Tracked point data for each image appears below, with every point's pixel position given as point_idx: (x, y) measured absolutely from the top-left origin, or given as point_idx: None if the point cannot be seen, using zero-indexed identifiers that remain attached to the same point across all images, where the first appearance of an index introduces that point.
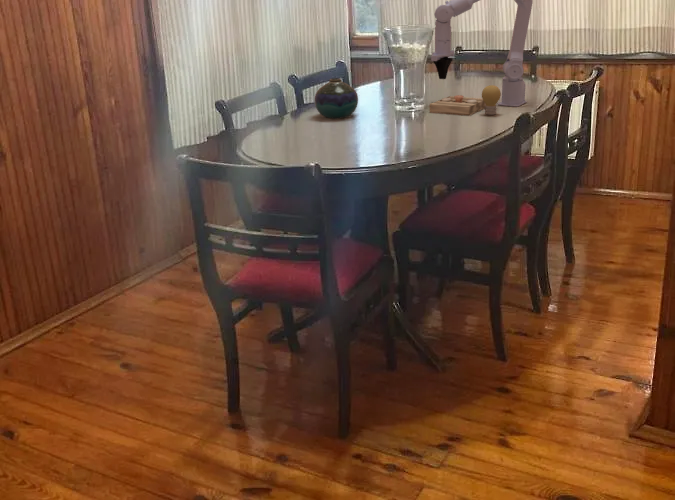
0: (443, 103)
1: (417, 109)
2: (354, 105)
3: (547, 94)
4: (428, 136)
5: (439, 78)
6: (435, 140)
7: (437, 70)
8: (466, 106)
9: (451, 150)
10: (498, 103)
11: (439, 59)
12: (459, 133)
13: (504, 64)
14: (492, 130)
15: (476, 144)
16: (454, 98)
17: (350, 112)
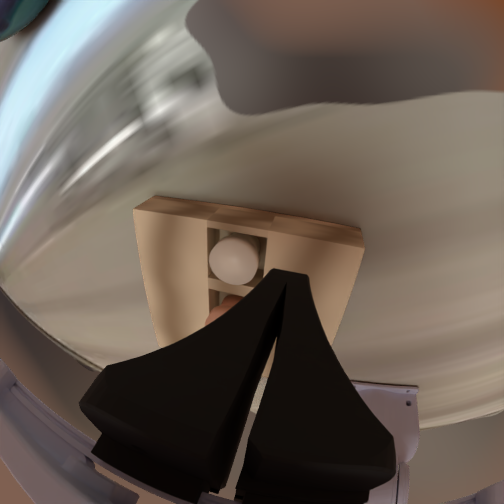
0: (166, 263)
1: (190, 113)
2: (5, 37)
3: (474, 416)
4: (24, 271)
5: (267, 273)
6: (23, 285)
7: (228, 312)
8: (162, 340)
9: (22, 308)
10: (355, 385)
11: (94, 444)
12: (58, 314)
13: (395, 497)
14: (101, 359)
15: (47, 333)
16: (215, 308)
17: (19, 31)
